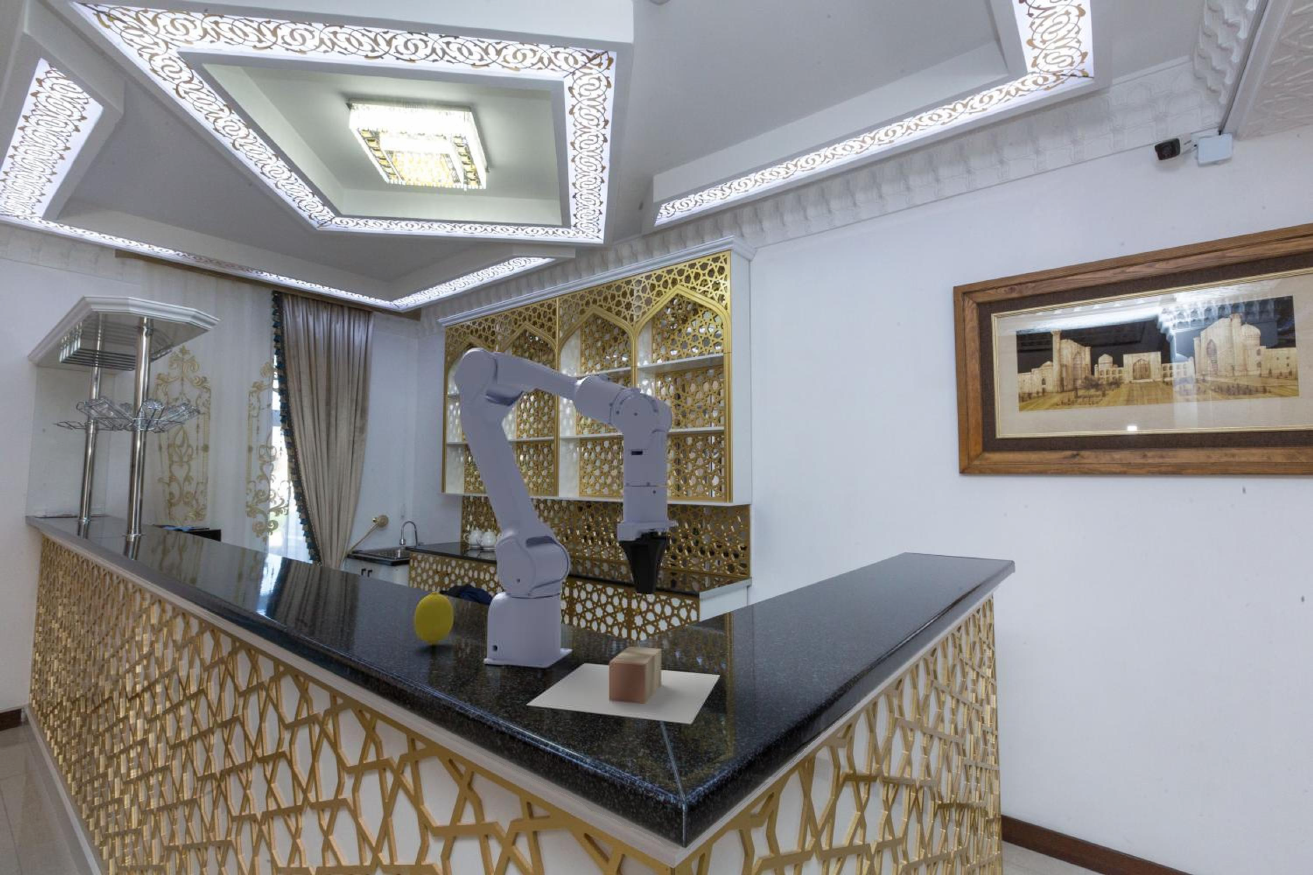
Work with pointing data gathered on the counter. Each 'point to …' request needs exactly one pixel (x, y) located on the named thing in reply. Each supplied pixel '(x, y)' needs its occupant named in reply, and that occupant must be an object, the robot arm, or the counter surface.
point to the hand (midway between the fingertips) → (645, 593)
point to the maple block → (635, 674)
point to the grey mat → (667, 703)
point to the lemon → (433, 618)
